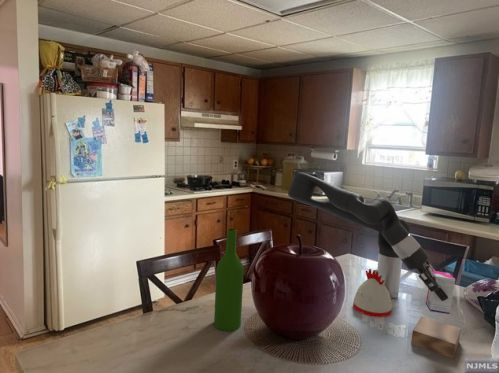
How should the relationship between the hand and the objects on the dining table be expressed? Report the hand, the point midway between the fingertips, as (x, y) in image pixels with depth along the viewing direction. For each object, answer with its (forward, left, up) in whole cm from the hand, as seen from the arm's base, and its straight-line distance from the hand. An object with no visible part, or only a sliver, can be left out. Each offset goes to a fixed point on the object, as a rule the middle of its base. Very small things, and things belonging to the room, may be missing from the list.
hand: (445, 295), depth 115 cm
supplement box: (-1, -1, -5) cm, 5 cm away
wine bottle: (-45, -51, -17) cm, 70 cm away
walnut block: (-1, 0, -17) cm, 17 cm away
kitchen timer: (-27, +3, -17) cm, 32 cm away
